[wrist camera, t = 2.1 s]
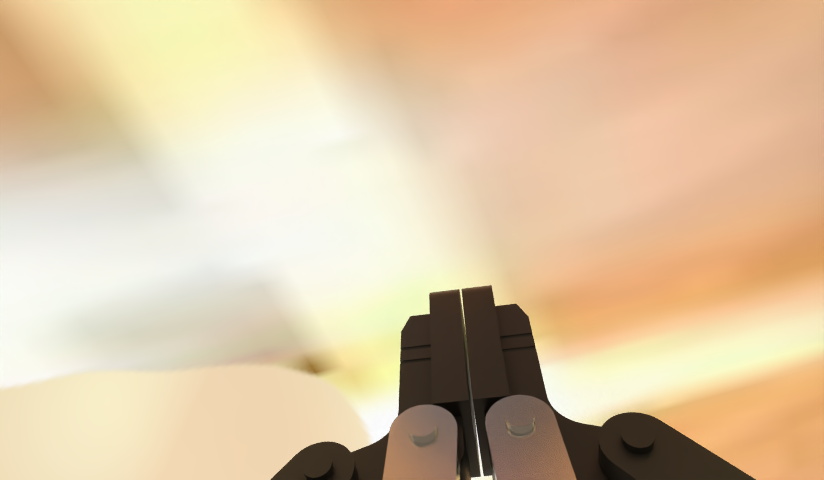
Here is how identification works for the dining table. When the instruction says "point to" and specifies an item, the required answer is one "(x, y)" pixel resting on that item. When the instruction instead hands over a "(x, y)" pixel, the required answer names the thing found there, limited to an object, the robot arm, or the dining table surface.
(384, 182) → the dining table surface
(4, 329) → the dining table surface
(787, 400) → the dining table surface
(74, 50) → the dining table surface
